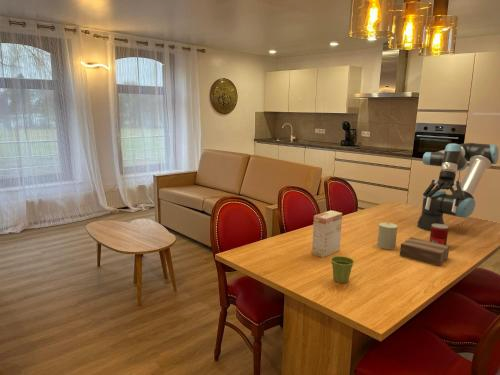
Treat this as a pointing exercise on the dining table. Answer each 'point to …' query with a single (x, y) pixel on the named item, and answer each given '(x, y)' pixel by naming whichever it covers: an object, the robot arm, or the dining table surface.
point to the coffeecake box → (326, 233)
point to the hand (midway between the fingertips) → (439, 210)
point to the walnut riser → (424, 251)
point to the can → (387, 235)
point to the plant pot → (341, 268)
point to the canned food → (439, 233)
